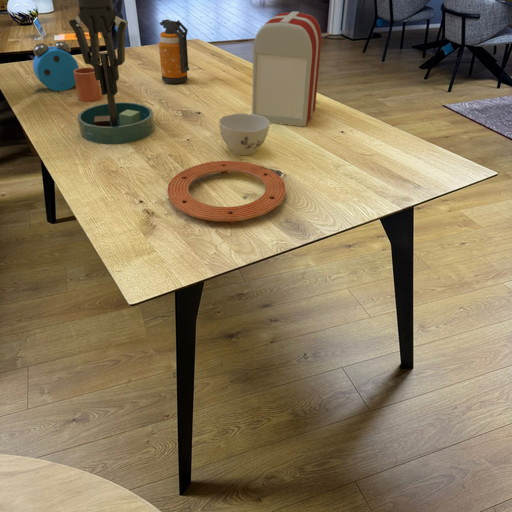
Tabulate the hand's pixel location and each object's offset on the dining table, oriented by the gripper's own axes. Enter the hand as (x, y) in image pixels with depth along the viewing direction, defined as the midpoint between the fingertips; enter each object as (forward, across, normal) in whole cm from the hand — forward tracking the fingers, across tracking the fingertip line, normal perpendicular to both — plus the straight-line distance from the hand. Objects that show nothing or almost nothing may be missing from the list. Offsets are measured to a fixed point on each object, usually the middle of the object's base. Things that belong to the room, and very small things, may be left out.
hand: (109, 93), depth 120 cm
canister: (+12, -7, -53) cm, 55 cm away
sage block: (+12, -2, -8) cm, 14 cm away
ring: (+12, -32, +29) cm, 45 cm away
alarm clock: (+13, +30, -40) cm, 52 cm away
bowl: (+12, +1, -5) cm, 13 cm away
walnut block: (+12, +4, -3) cm, 13 cm away
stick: (+10, 0, 0) cm, 10 cm away
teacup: (+12, -34, +4) cm, 36 cm away
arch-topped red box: (+12, -45, -23) cm, 52 cm away
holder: (+12, +17, -31) cm, 38 cm away
